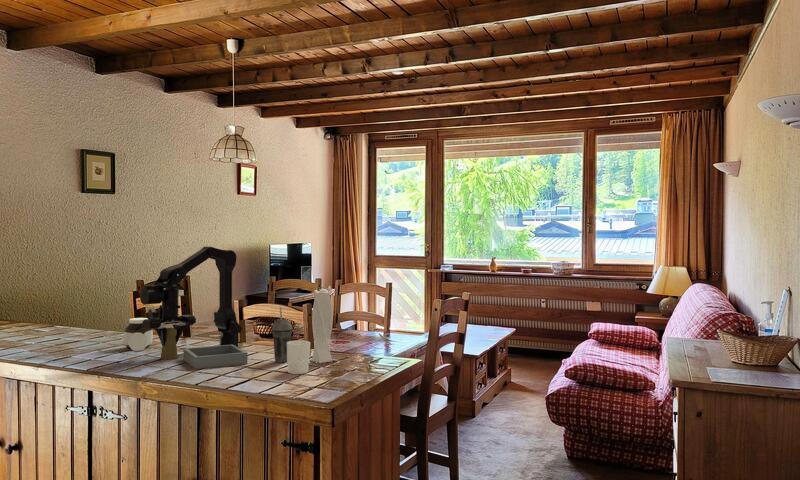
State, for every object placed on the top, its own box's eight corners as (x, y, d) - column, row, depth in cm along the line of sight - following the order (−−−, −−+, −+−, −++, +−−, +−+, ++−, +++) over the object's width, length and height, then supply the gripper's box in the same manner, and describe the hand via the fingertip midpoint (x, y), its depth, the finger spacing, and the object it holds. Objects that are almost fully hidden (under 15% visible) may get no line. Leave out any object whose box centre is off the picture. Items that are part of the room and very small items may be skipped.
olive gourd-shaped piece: (180, 356, 215) (181, 327, 215) (172, 360, 209) (173, 329, 209) (165, 356, 216) (166, 326, 216) (157, 359, 210) (157, 329, 210)
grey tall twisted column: (338, 362, 210) (339, 285, 210) (320, 365, 205) (321, 286, 205) (324, 358, 216) (325, 284, 216) (306, 361, 211) (307, 285, 211)
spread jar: (143, 345, 237) (143, 316, 237) (161, 348, 231) (161, 319, 231) (116, 349, 227) (116, 320, 227) (133, 352, 221) (134, 322, 221)
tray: (232, 354, 220) (232, 344, 220) (247, 363, 205) (247, 352, 205) (183, 359, 210) (183, 348, 210) (194, 369, 195) (195, 357, 195)
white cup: (298, 375, 188) (299, 345, 188) (281, 372, 193) (281, 342, 193) (314, 371, 195) (315, 342, 195) (297, 368, 199) (297, 339, 199)
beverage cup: (295, 360, 211) (296, 306, 211) (283, 364, 205) (284, 308, 205) (279, 358, 214) (280, 305, 214) (267, 362, 208) (268, 307, 208)
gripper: (179, 299, 225) (179, 339, 225) (134, 302, 210) (133, 345, 210) (197, 301, 218) (196, 342, 218) (151, 305, 203) (150, 349, 203)
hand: (169, 344), depth 213 cm, fingers closed on olive gourd-shaped piece, 4 cm apart
